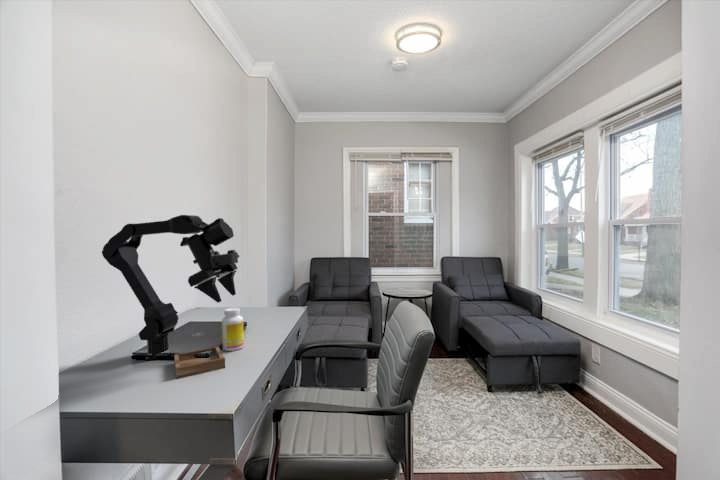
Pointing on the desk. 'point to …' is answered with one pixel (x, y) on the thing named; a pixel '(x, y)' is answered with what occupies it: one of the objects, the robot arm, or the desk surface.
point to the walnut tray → (198, 362)
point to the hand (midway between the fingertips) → (227, 298)
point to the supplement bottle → (232, 330)
